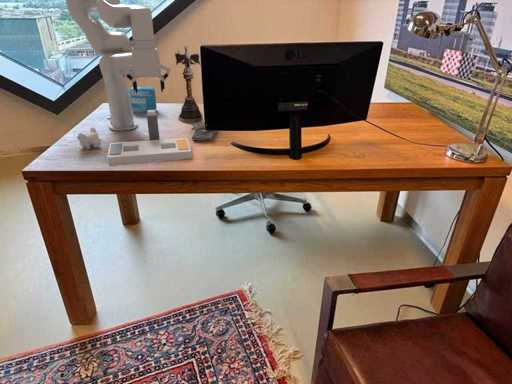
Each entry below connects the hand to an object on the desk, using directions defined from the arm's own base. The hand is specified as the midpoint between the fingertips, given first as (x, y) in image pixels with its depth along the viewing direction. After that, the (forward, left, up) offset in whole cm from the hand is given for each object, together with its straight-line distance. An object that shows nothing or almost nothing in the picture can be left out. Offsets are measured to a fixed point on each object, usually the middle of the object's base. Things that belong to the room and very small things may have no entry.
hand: (149, 91), depth 140 cm
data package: (-34, +29, -22) cm, 50 cm away
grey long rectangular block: (0, 0, -21) cm, 21 cm away
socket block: (+7, -10, -21) cm, 24 cm away
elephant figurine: (-17, -18, -22) cm, 33 cm away
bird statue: (-9, +34, -22) cm, 41 cm away
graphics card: (+11, +18, -22) cm, 31 cm away
